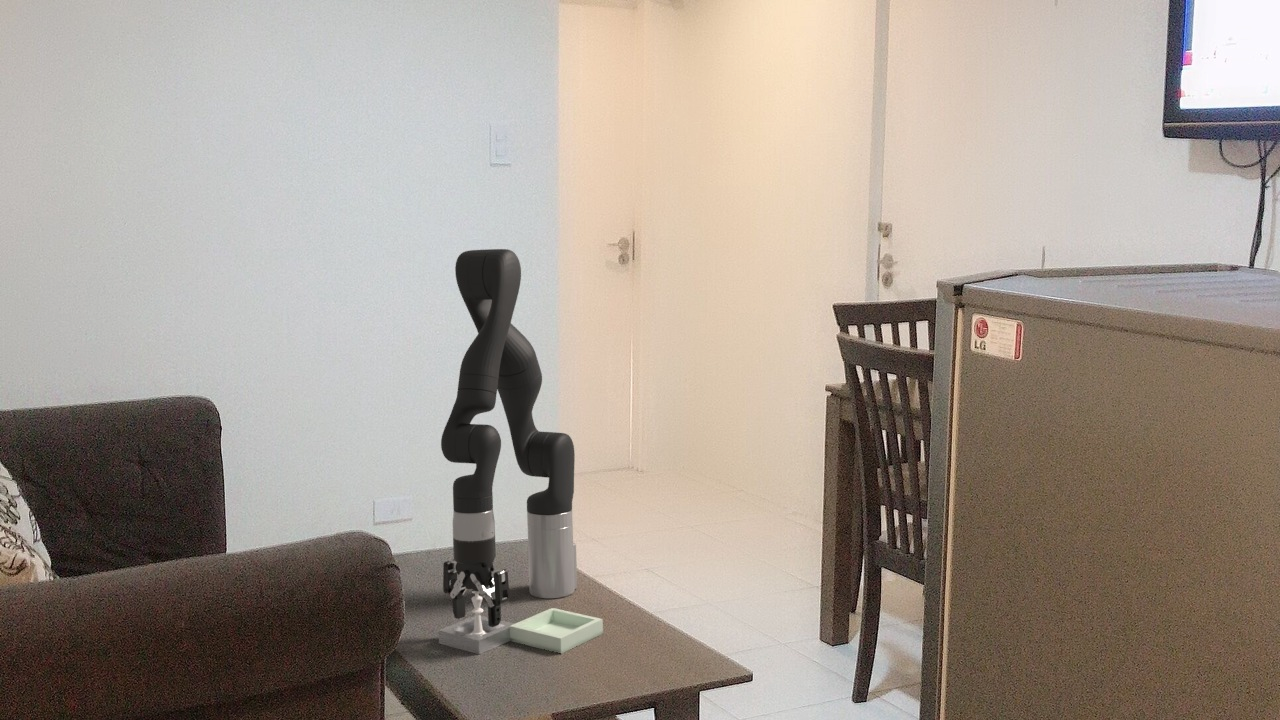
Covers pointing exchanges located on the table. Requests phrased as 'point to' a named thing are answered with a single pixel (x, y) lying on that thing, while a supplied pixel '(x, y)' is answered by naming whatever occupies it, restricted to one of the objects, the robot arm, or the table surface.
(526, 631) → the tray
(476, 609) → the chess piece
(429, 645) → the table surface
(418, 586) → the table surface
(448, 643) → the collar block
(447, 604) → the table surface
